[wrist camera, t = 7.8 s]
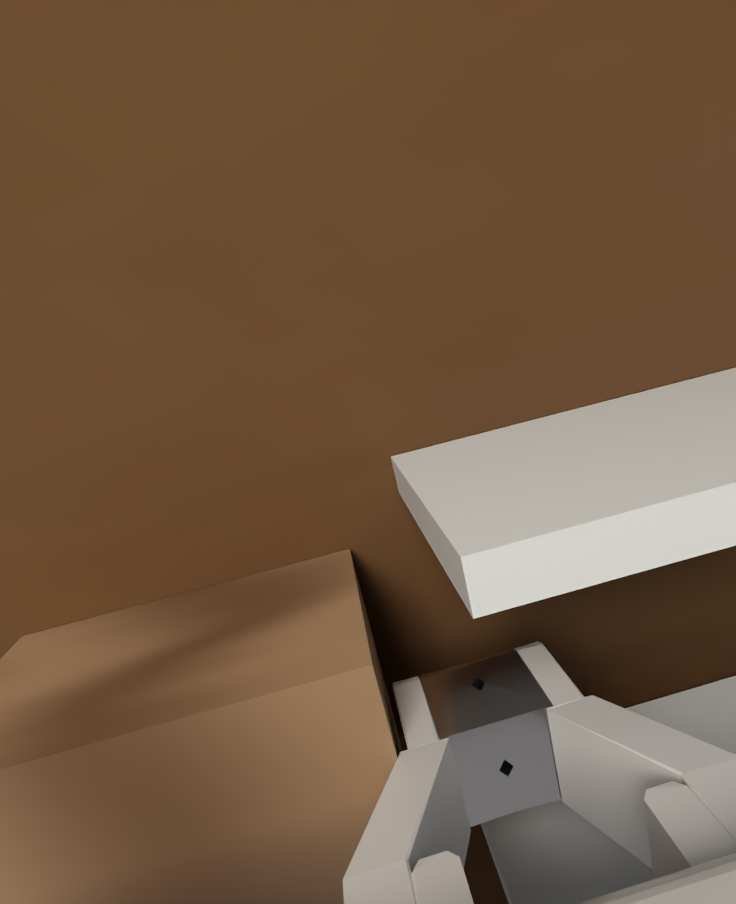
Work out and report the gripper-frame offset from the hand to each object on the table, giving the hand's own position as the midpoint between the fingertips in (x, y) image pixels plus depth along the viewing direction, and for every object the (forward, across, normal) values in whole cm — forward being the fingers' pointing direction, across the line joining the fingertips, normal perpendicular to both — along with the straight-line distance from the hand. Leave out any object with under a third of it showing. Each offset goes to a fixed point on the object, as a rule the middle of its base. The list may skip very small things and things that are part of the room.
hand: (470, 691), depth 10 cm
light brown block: (+2, +5, 0) cm, 6 cm away
